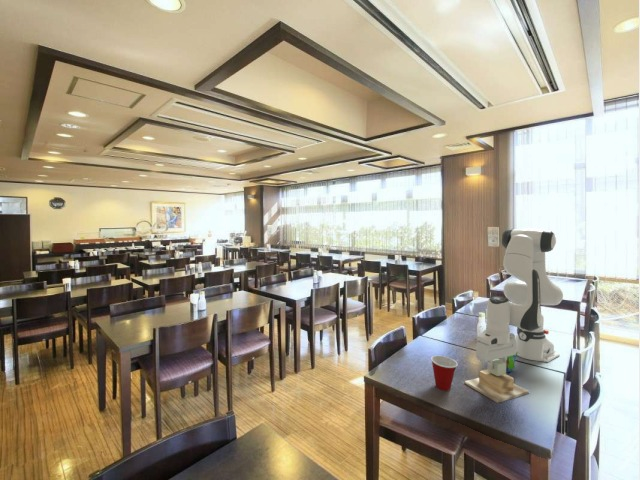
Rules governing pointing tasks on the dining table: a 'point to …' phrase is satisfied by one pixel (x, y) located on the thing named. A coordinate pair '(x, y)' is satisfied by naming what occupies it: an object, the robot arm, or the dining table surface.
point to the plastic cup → (443, 371)
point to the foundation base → (494, 394)
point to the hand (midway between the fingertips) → (496, 367)
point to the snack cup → (510, 362)
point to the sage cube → (498, 367)
